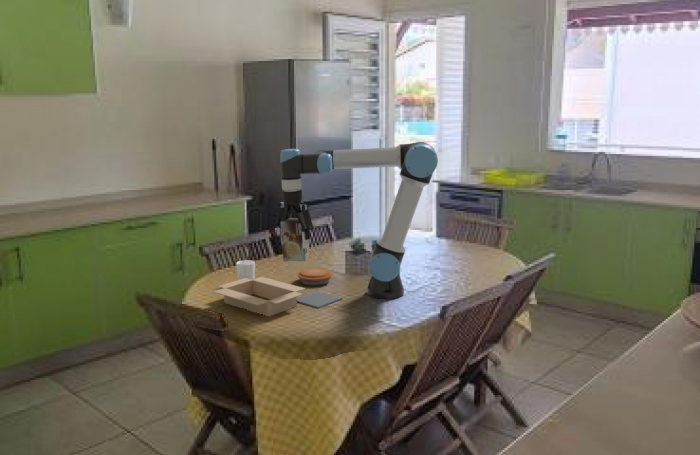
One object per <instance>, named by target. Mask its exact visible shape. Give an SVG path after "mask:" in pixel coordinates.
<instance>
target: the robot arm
mask: <svg viewBox="0 0 700 455" xmlns="http://www.w3.org/2000/svg"><path fill="white" fill-rule="evenodd" d="M279 156H280V160H279V161H280V162H279V163H280V164H279V165H280V174H281V189H282V195H281V196H282V201H281V202H278V203H277V206H278V207H277V214H276V219H275V227H278V229H279V235H280V237H281V238H280V242H281V243H282V235H281V221H282V219H287V218H290V216H291V215H294V216H295V218H298V220H299V221H300V224H301V226H302V228H303V230H304V231H303V232H302V240H303V248H308V249H309V248H310V237H311V234H310V231H311V230H314V225H313V221H312V218H311V215H310V212H309V204H303V203H302V200H303V190H302V175H312V174H313V175H315V174H316V175H318V174H319V175H324V174H330V173H332V171H333V170H341V169H343V170H344V169H366V168H367V169H369V168H393V167H397V168H398V169H400V172H399V175H400V178H401V182H400V184H399V187H398V189H397V192H396V197H395V199H394V202H393V204H392V208H391V210H390V213H389V216H388V218H387V222H386V225H385V228H384V231H383V234H382V236H381V238H374V239H372V240H371V246H370V247H371V256H370V260H369V262H368V269H369V272H370V274H371V276H370V279H369V282H368V285H367V290H366V291H367V292H366V293H367V295H368V296H370V297H372V298H375V299H380V300H391V299H398V298H401V297H402V296H404V294H405V288H404V285H403V282H402V278H401V265H402V262H403V259H404V256H405V253H406V248H405V247H404V244H405V240H406V238H407V235H408V233H409V230H410V227H411V224H412V222H413V218H414V215H415V212H416V210H417V207H418V204H419V201H420V198H421V196H422V192H423V191H424V188H425V187H426V186H427V185H430V182H431V180H432V177H433V174H434V172H435V170H436V169H437V167H438V162H439V160H438V154H437V152H436V150H435V149H434V148H433V146H432V145H430V144H429V143H428V142H424V141H417V142H412V143H404V144H403V143H402V144H398V146H395V147H376V148H375V147H372V148H371V147H370V148H352V149H351V148H350V149H329V150H328V149H327V150H325V149H319V150H317V151H315V152H314V153H307V154H304V153H301V152H300V148H299V149H298V148H287V149H286V148H285V149H282V150H280V155H279Z"/></svg>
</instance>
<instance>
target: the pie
mask: <svg viewBox="0 0 700 455" xmlns="http://www.w3.org/2000/svg"><path fill="white" fill-rule="evenodd" d="M332 276H333V272H332V271H329V269H325V268H320V267H319V268H318V267H314V268H312V267H311V268H306V269H303V270H301V271H299V272H298V273H296V277H298V279H299V280H300V281H301V282H302V284H304V285H307V286H323V285H326V284H327V283H329V280H330V279H331V278H332Z"/></svg>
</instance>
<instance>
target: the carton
mask: <svg viewBox="0 0 700 455" xmlns="http://www.w3.org/2000/svg"><path fill="white" fill-rule="evenodd" d="M218 288H221V289H217V290H214V291H213V293H216V294H218V295H222V296H223V300H224V302H223V303H225V304H227V305H230V306H233V307H236V306H237V308H239V307H240V308H239V309H242V308H244V309H243V310H245V309H247V310H246V311H249V310H250V311H249V312H252V311H253V312H252V313H255V312H257V313H256V314H258V313H260V314H259V315H261V314H263V315H262V316H264V315H266V316H265V317H267V316H269V317H271V315H272V316H274V315H277V314H280V313H282V312H285V311H288V310H290V309H293V308H296V307H298V302H297V298H299V297H301V296H304V294H303V293H302V292H301V291H305V290H306V288H305V287H302V286H297V285H294V284H290V283H287V282H283V281H278V280H275V279H272V278H271V279H270V278H267V277H264V276H260V277H255V279H253V280H250V279H246V278H244V279H240V280H238V279H237V280H234V281H231V282H227V283H224V284H221V285H218ZM254 294H255V296H253V295H254ZM257 296H258V297H257ZM259 297H260V298H259ZM261 297H262V298H261ZM263 298H265V299H263ZM267 299H268V300H267Z"/></svg>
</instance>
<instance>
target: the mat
mask: <svg viewBox="0 0 700 455" xmlns="http://www.w3.org/2000/svg"><path fill="white" fill-rule="evenodd" d="M342 300H343V297H339V296H336V295H332V294H329V293H325V292H321V291H317V290H316V291H314V292H310V293H308V294H305V295H304V294H303V295H301V296H298V297H297V304H301V305H305V306H309V307H312V308H316V309H321V308H324V307H326V306H329V305H331V304H334V303H336V302H339V301H342Z"/></svg>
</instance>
